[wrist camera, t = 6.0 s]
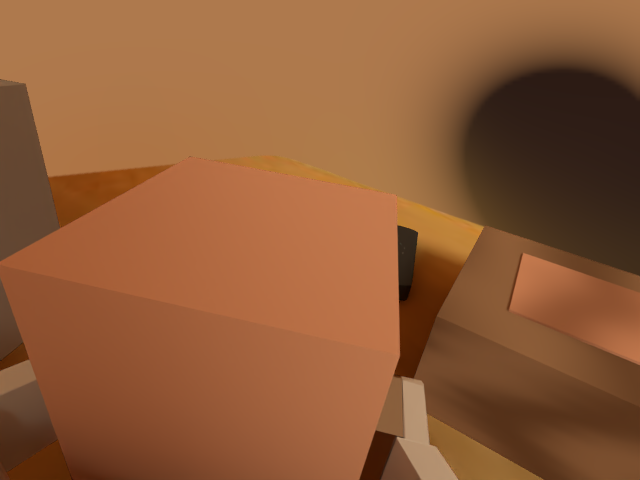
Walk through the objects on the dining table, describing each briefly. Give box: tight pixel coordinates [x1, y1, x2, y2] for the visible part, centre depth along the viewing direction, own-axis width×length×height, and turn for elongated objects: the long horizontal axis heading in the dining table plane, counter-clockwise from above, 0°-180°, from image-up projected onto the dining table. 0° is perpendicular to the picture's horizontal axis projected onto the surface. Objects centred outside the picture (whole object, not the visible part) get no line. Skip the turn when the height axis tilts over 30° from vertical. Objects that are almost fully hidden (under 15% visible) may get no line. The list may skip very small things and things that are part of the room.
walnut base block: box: [414, 226, 640, 480], centre depth 16 cm, size 10×10×5 cm
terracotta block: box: [0, 157, 400, 480], centre depth 9 cm, size 5×5×10 cm
